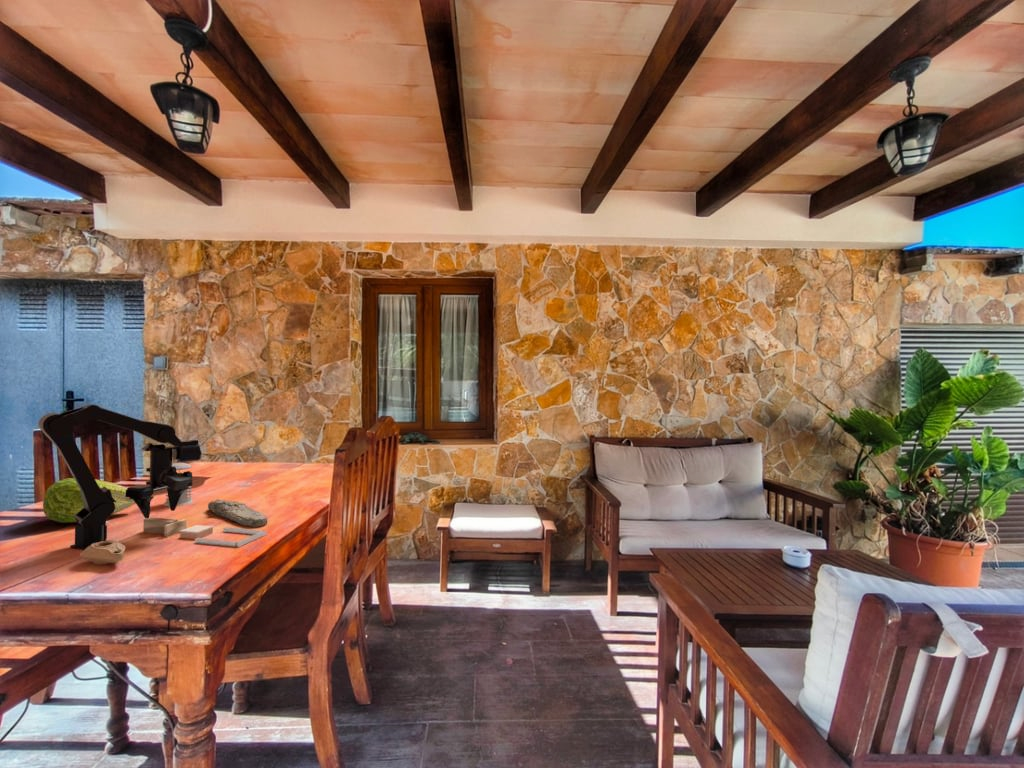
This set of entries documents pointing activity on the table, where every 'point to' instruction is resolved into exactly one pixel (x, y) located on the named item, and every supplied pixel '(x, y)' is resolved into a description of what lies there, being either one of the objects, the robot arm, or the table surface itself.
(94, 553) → the pottery oil lamp
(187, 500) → the french press
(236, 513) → the elongated rock
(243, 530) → the bay
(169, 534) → the pusher
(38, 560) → the table surface
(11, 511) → the table surface
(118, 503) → the lettuce
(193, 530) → the tile
